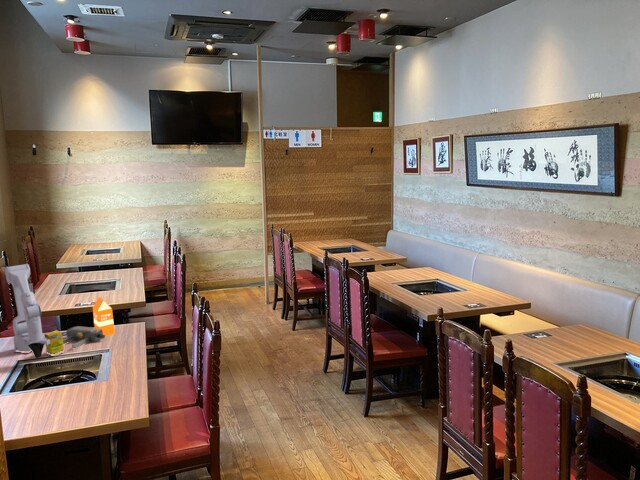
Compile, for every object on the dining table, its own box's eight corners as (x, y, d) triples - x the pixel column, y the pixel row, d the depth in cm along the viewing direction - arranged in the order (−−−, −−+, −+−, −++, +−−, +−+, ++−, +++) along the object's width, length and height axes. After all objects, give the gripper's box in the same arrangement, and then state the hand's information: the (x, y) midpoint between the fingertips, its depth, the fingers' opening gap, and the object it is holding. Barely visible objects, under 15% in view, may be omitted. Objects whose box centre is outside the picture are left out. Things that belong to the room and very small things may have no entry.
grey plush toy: (50, 347, 253) (49, 336, 252) (75, 335, 269) (74, 324, 268) (84, 351, 247) (83, 340, 246) (108, 338, 263) (106, 328, 262)
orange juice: (109, 329, 277) (106, 295, 273) (114, 333, 270) (111, 298, 266) (94, 333, 272) (91, 298, 268) (100, 337, 265) (96, 301, 262)
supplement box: (52, 357, 241) (49, 336, 239) (46, 354, 245) (43, 333, 243) (64, 353, 246) (62, 332, 244) (58, 350, 249) (56, 329, 247)
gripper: (15, 331, 231) (19, 359, 234) (40, 334, 227) (43, 362, 229) (28, 326, 238) (31, 353, 240) (52, 329, 234) (55, 356, 236)
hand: (38, 357), depth 235 cm, fingers closed
